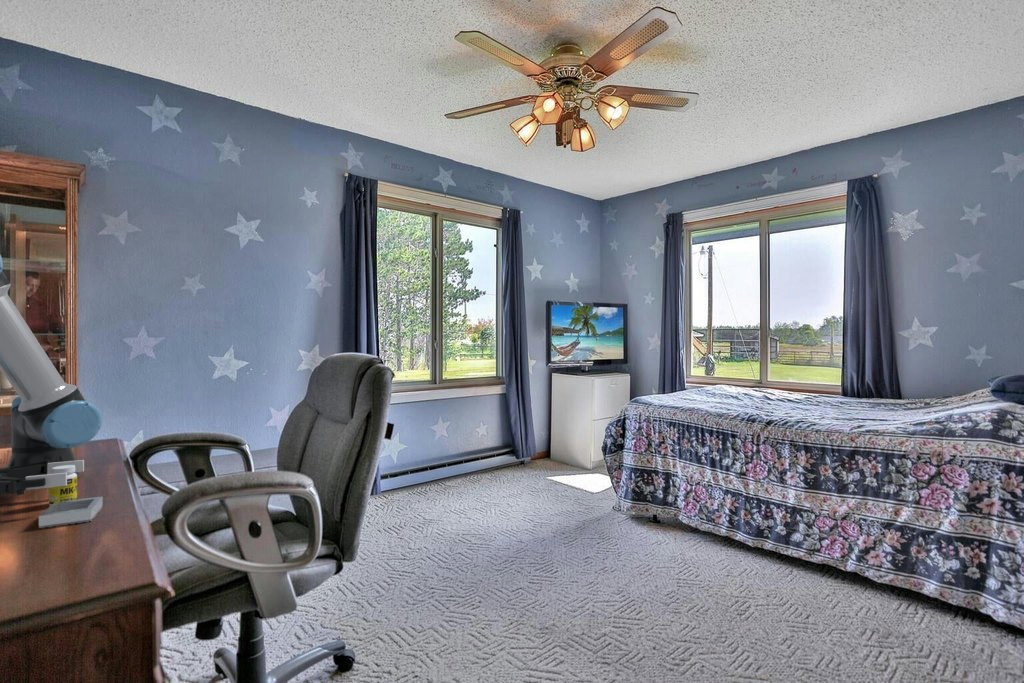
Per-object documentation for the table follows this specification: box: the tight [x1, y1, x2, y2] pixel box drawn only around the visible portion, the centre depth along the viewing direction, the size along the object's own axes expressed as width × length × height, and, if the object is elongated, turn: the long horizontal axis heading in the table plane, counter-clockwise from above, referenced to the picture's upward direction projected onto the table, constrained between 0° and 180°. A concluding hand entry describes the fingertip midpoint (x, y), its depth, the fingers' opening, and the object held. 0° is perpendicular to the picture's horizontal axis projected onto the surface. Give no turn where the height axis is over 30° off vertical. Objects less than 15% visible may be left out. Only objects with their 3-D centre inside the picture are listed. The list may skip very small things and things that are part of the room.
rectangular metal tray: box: [38, 496, 104, 529], centre depth 105 cm, size 10×8×2 cm
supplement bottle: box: [48, 465, 78, 507], centre depth 114 cm, size 5×5×8 cm
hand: (75, 472), depth 115 cm, fingers open, 13 cm apart
